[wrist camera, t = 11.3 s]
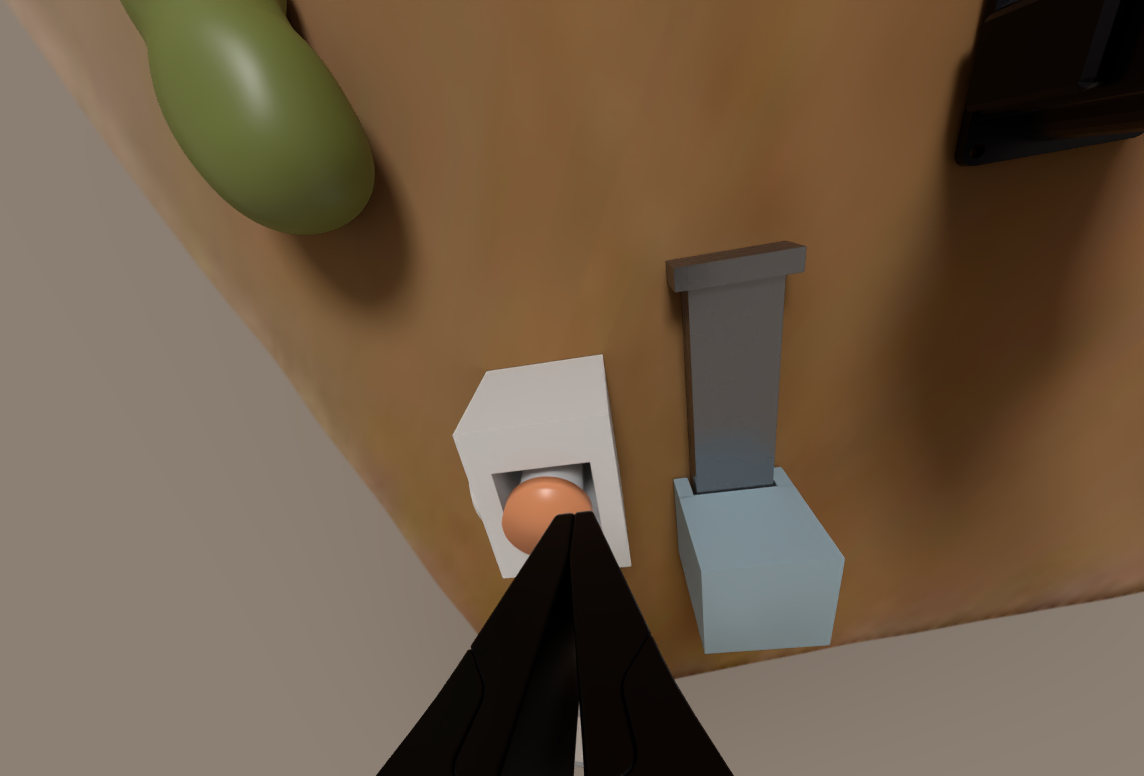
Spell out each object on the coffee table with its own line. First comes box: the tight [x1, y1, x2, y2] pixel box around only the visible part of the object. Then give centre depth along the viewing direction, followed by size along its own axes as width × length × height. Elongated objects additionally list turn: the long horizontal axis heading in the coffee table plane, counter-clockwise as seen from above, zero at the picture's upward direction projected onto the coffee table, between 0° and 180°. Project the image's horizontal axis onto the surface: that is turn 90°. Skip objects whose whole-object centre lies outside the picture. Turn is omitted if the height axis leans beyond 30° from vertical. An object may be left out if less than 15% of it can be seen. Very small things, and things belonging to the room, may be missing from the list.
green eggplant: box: [120, 0, 375, 235], centre depth 14 cm, size 6×5×10 cm
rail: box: [666, 241, 806, 495], centre depth 22 cm, size 5×20×2 cm, turn 10°
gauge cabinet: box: [453, 354, 631, 578], centre depth 20 cm, size 6×8×6 cm
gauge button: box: [502, 463, 593, 555], centre depth 19 cm, size 4×4×6 cm
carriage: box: [673, 467, 845, 654], centre depth 22 cm, size 6×6×6 cm
